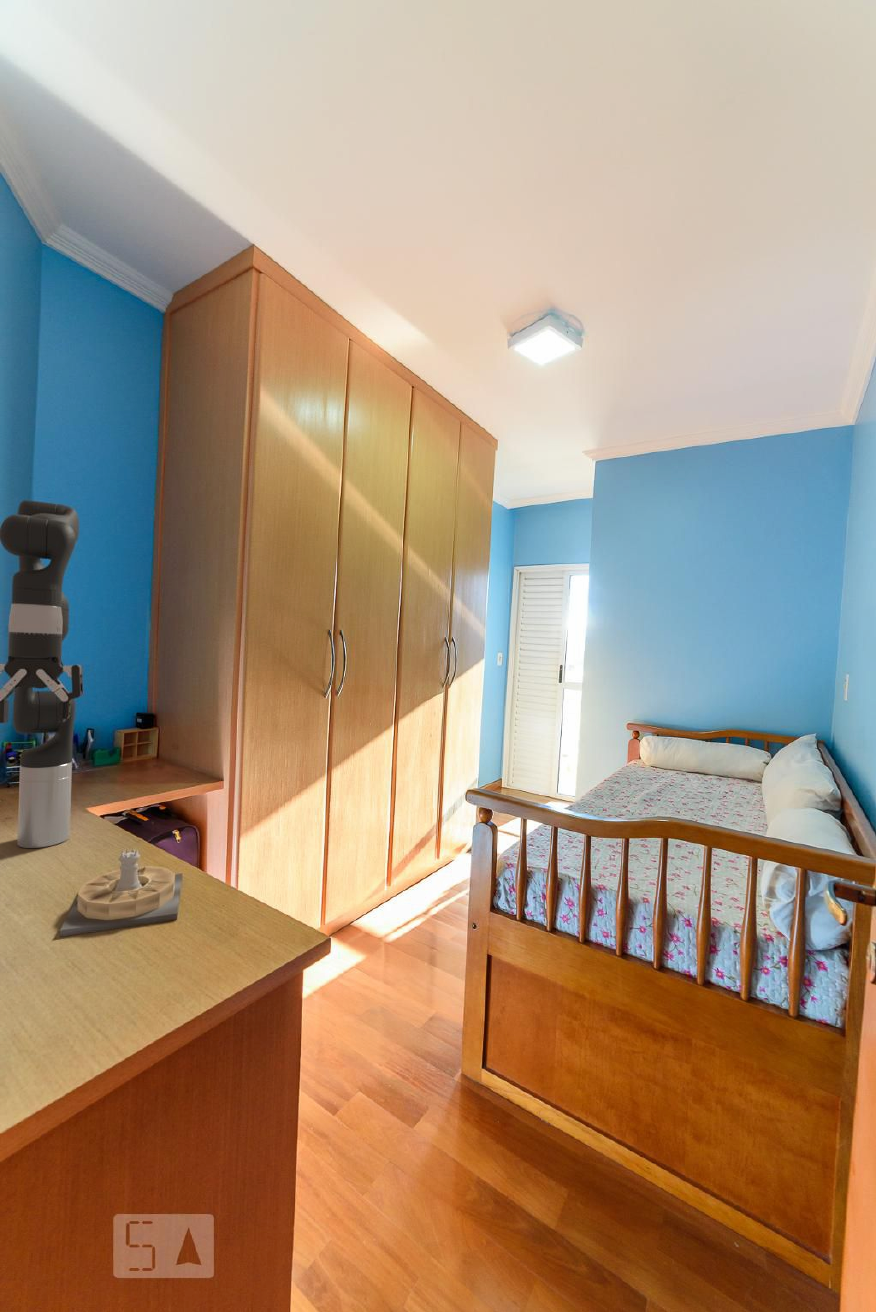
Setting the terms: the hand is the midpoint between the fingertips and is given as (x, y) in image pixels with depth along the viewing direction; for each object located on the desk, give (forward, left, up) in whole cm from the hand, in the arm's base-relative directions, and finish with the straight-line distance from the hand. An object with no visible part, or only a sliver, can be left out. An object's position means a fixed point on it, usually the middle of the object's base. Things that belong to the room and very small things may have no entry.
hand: (33, 722), depth 93 cm
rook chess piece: (+11, +17, -29) cm, 36 cm away
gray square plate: (+11, +17, -30) cm, 36 cm away
